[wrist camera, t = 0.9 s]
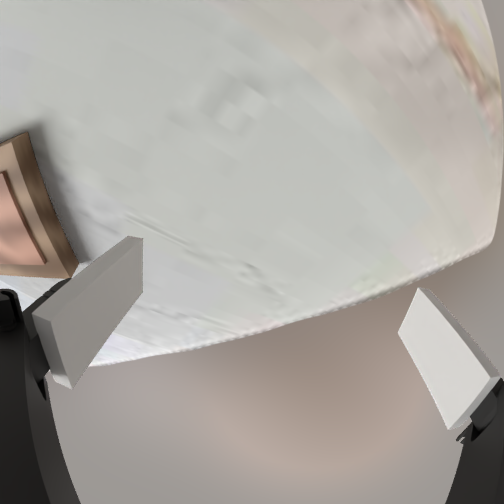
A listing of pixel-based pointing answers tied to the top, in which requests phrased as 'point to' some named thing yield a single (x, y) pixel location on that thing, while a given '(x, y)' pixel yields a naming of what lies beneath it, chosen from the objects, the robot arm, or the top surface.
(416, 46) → the top surface
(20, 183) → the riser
